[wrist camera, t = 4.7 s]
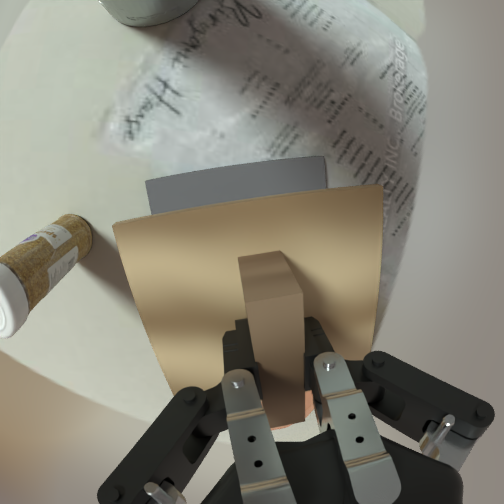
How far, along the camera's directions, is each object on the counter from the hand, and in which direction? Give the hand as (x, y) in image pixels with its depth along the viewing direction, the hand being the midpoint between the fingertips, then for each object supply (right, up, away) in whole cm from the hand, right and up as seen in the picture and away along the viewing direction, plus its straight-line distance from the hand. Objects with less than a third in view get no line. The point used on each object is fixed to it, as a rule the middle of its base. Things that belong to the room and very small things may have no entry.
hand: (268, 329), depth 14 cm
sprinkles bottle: (-18, +5, +9) cm, 21 cm away
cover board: (0, 0, +1) cm, 1 cm away
